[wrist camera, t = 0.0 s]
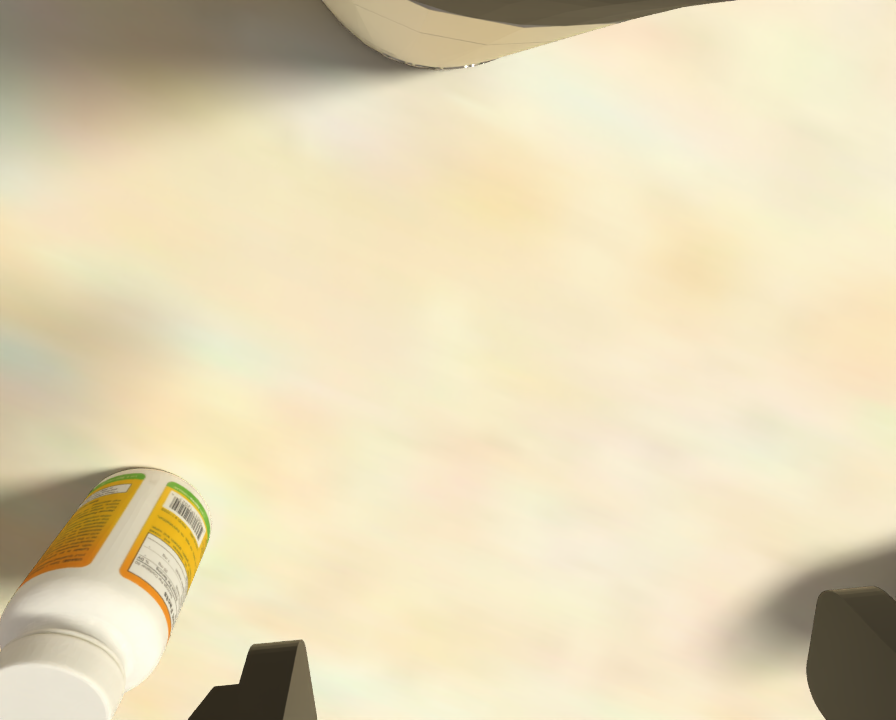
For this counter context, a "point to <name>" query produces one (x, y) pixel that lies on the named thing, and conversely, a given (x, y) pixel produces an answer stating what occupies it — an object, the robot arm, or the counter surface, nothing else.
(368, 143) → the counter surface
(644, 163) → the counter surface
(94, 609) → the supplement bottle
